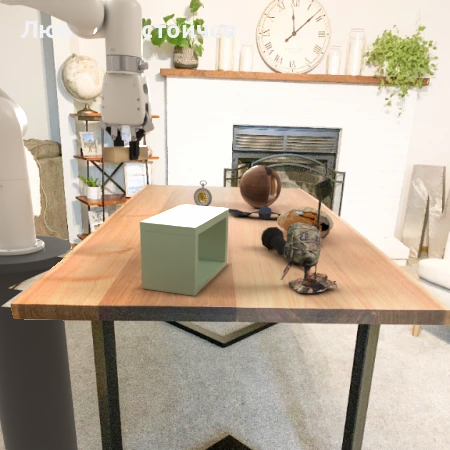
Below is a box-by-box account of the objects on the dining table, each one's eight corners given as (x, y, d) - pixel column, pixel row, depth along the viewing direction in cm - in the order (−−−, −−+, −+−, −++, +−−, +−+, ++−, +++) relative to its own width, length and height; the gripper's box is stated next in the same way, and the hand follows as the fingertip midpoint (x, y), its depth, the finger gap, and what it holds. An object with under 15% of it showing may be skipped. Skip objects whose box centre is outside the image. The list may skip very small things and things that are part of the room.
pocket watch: (189, 213, 147) (190, 182, 144) (186, 208, 155) (187, 179, 151) (214, 213, 149) (214, 182, 145) (209, 208, 157) (210, 179, 153)
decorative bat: (218, 204, 139) (221, 202, 149) (217, 217, 141) (220, 214, 150) (313, 209, 137) (310, 206, 147) (311, 222, 139) (308, 219, 148)
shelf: (141, 288, 79) (139, 221, 75) (182, 259, 97) (183, 204, 93) (194, 296, 76) (195, 227, 72) (226, 264, 94) (228, 208, 90)
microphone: (310, 282, 95) (272, 247, 111) (322, 258, 93) (281, 226, 109) (290, 276, 93) (253, 242, 109) (301, 252, 91) (263, 220, 107)
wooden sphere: (234, 204, 168) (235, 163, 162) (271, 204, 172) (274, 163, 166) (245, 211, 154) (247, 166, 149) (285, 211, 158) (289, 167, 153)
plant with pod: (272, 280, 86) (281, 174, 78) (328, 280, 87) (342, 175, 80) (282, 295, 78) (293, 179, 71) (343, 295, 80) (360, 181, 72)
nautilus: (340, 253, 109) (279, 252, 110) (327, 228, 128) (275, 228, 129) (344, 221, 106) (281, 221, 107) (329, 201, 125) (276, 201, 126)
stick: (102, 161, 93) (102, 146, 92) (137, 158, 107) (137, 145, 106) (114, 162, 92) (114, 147, 91) (148, 159, 107) (147, 146, 106)
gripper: (167, 71, 94) (167, 161, 101) (99, 69, 98) (103, 156, 105) (152, 66, 88) (153, 163, 94) (80, 64, 92) (85, 157, 98)
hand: (126, 158), depth 100 cm, fingers closed on stick, 2 cm apart
